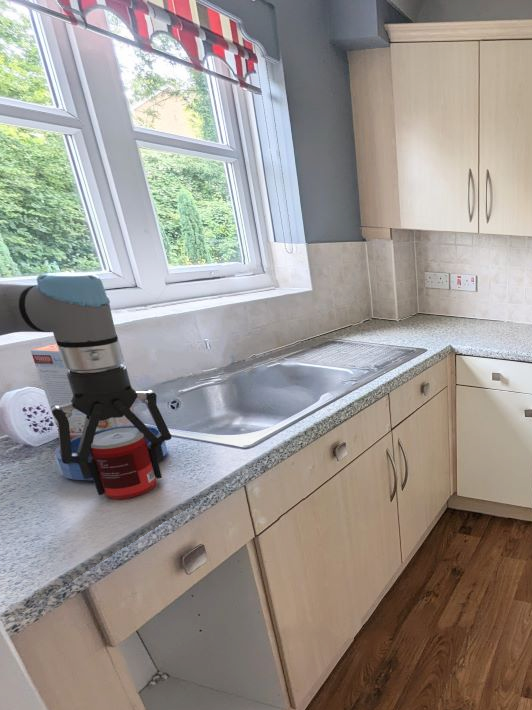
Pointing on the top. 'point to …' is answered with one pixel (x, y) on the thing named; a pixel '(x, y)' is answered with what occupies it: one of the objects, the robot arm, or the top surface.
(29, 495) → the top surface
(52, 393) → the cracker box
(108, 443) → the canned food
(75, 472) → the bowl
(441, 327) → the top surface
